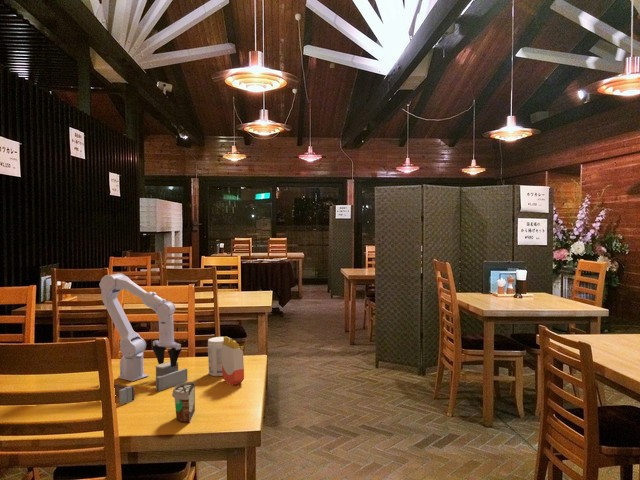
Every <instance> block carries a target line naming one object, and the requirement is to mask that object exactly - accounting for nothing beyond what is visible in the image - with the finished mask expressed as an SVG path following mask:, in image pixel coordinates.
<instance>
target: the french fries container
mask: <svg viewBox="0 0 640 480" xmlns="http://www.w3.org/2000/svg"><path fill="white" fill-rule="evenodd" d="M223 337H224V341H223V344H222V375H223V376H222V377H223V380H224V382H225V383H226V384H229V385H230V386H235V385H238V384H239V385H240V384H242V383H243V381H244V380H245V365H244V362H245V361H244V351H243V350H244V346H243V345H241V346H240V344H239V343H237V342H238V341H236V340H234V339H233V338H230V337H228V336H227V335H226V336H223ZM229 338H230V341H229Z"/></svg>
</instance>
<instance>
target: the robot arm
mask: <svg viewBox="0 0 640 480" xmlns="http://www.w3.org/2000/svg"><path fill="white" fill-rule="evenodd" d="M98 286H99V288H100V292H101V293H100V294H101V295H100V296H101V301H102V303H103V305H104V307H105V309H106V310H107V312H108V314H109V317H110V318H111V321H112V323H113V324H114V327H115V328H116V330H117V332H118V334H119V337H120V339H119V340H120V341H119V342H118V343H119V346H120V352H121V355H122V357H121V358H120V361H119V375H118V377H117V378H118V379H122V380H126V381H129V382H134V381H137V380H141V379H144V378H146V377H149V374H146V373H145V370H144V369H145V368H144V365H145V364H144V351H145V350H146V348H147V342H146V341H145V339H144V338H142V337H141V336H140V334H139V333H138V332H136V331H134V329H133V327H132V324H131V322H130V321H129V319H128V316H127V314H126V313H125V311H124V308H123V307H122V305H121V303H120V300H119V299H118V297H119V294H120V292H121V291H122V290H126V291H127V292H129V293H131V295H134V296H136V297H137V298H139V299H141V301H142V304H143V305H145V306H146V307H148V308H149V309H151V310H153V311H154V312H155V314H156V316H157V317H158V335H159V336H158V337H159V338H158V339H159V340H158V339H156V340H153V341H152V344H153V345H152V346H153V347H152V352H154V355H155V357H156V360H157V363H158V365H161V364H164V363H165V352H166V348H168V349H167V353H168V356H169V360H170V361H169V362H170V364H171V367H174V366H176V364H177V362H178V360H179V356H180V354H181V352H182V349H183V348H182V347H181V346H182V344H181V343H179V342H176V341H175V331H174V330H175V328H174V314H175V312H176V305H175V303H173V301H170V300H169V301H168V300H166V298H162V297H160V296H158V295H157V294H158V293H157V292H155V291H146V290H145V289H143V288H142V287H141V286H140V285H138V284H137V283H135V282H134V281H133V280H131V279H130V277H129V276H127V275H125V274H124V273H121V272H117V273H112V274H106V275H104V276H103V277H101V280H100V282H99V285H98Z"/></svg>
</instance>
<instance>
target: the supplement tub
mask: <svg viewBox="0 0 640 480" xmlns="http://www.w3.org/2000/svg"><path fill="white" fill-rule="evenodd" d="M224 337H225V336H216V337H211V338H208V340H207V355H208V357H207V358H208V359H207V361H208V362H207V363H208V375H210V376H212V377H223V375H222V344H223V341H224ZM230 339H231V337H229V341H230Z"/></svg>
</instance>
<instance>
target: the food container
mask: <svg viewBox="0 0 640 480" xmlns="http://www.w3.org/2000/svg"><path fill="white" fill-rule="evenodd" d="M171 397H172V398H174V405H175V406H174V407H175V418H176V421H177V422H178V423H183V424H190V423H191V421H192V419H193V417H194V415H195V412H196V381H193V380H192V381H186V382H183V383H181V384H178V385H175V386H173V390H172V394H171Z"/></svg>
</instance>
